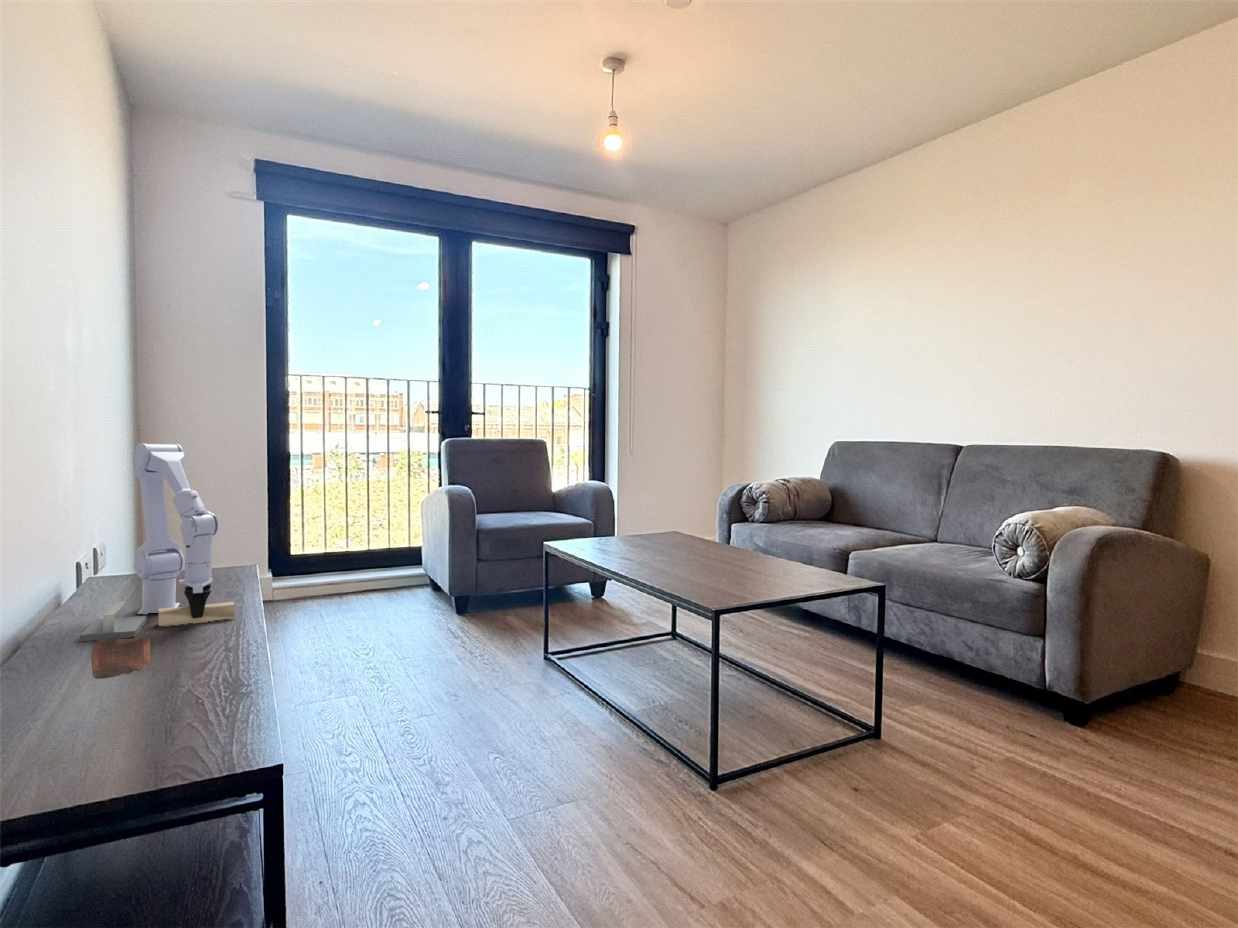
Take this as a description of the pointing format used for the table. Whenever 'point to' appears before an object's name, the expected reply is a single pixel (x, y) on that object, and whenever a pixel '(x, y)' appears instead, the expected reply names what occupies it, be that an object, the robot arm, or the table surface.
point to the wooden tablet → (120, 656)
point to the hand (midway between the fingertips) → (197, 615)
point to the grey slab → (123, 631)
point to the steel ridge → (114, 617)
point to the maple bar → (184, 616)
